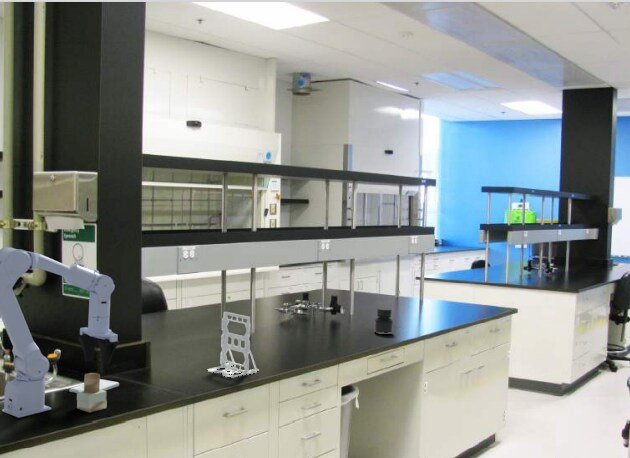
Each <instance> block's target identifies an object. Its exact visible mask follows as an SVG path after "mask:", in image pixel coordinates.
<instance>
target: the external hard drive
mask: <svg viewBox="0 0 630 458" xmlns="http://www.w3.org/2000/svg"><path fill="white" fill-rule="evenodd" d="M119 386H120V383H119V382H118V381H112V380H108V379H103V378H102V379H101V378H100V387H99V389H101V390H104V391H108V390H111V389H113V388H117V387H119ZM80 390H84V383H83V384H79V385H76V386H73V387H71V388H69V391H68V392H70V393H75V394H77V391H80Z"/></svg>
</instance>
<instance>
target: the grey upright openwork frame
mask: <svg viewBox="0 0 630 458" xmlns="http://www.w3.org/2000/svg"><path fill="white" fill-rule="evenodd" d="M222 314H223V317H222V318H221V331H222V334H221V335H220V348H221V351H220V353H219V355H220V357H219V364H220V365H219V366H215V367H211V368H207V370H208V371H207V372H208V373H211V374H217V373H218V374H221V373H222V377H224V376H225V377H224V378H227V377H231V378H230V379H235V378H238V376H239V377H242V375H243V376H250V375H249V374H251V375H254V374H253V373H255V374H257V373H258V372H257V371H259V372H260V369H258V368H257V365H256V361H255V360H254V355H253V353H252V351H251V341H250V337H251V332H252V331H251V330H252V329H251V327H252V324H251V316H248V315H243V314H239V313H238V314H237V313H234V312H229V311H223V313H222ZM228 316H230V317H231V318H229V317H228ZM233 317H235V319H233ZM239 318H240V319H241V320H239ZM244 320H246V322H245V321H244ZM230 322H234V323H236V324H237V323H239V324H243V325H244V328H245V330H246V331H245V333H244V334H243V335H240V334H236V333H232V332H229V328H228V326H229V323H230ZM229 338H230V339H231V340H230V341H231V342H230V344H229ZM235 340H237V345H235ZM243 341H244V347H242V342H243ZM232 351H235V352H239V353H243V354H242V355H243V356H244V361H243V363H242V364H241V363H237V362H235V359H234V355H233V353H232ZM227 353H229V356H230V359H231V360H228V356H227ZM249 355H250V358H251V362H252V365H253V369H250V358H249ZM233 365H234V366H233ZM236 365H237V366H239V368H238V367H237V366H236ZM231 366H232V367H231ZM242 367H243V368H244V369H242ZM220 368H225V369H220ZM217 369H218V370H217ZM227 371H230V372H227ZM213 372H214V373H213ZM241 372H242V373H241ZM234 373H236V374H234ZM239 373H241V374H239ZM229 374H230V375H229ZM231 374H232V375H231ZM246 374H247V375H246Z"/></svg>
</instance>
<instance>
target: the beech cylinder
mask: <svg viewBox="0 0 630 458" xmlns="http://www.w3.org/2000/svg"><path fill="white" fill-rule="evenodd" d="M100 379H101V374H100V373H98V372H89V373H85V374H84V379H83V384H84V392H85V393H97V392H99V387H100Z"/></svg>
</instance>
